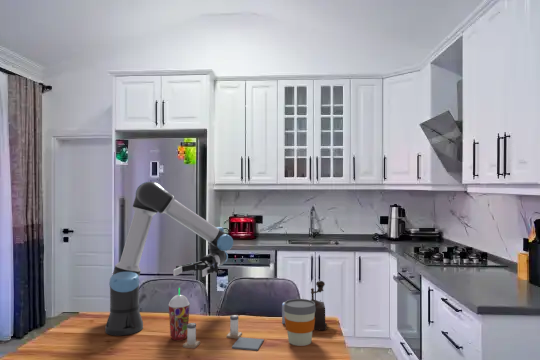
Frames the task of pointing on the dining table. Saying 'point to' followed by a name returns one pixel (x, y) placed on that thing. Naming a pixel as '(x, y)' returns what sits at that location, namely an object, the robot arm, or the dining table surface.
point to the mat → (248, 343)
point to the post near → (191, 336)
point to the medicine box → (283, 314)
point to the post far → (234, 327)
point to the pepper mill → (319, 309)
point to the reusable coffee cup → (299, 320)
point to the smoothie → (179, 316)
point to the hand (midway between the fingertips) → (188, 273)
